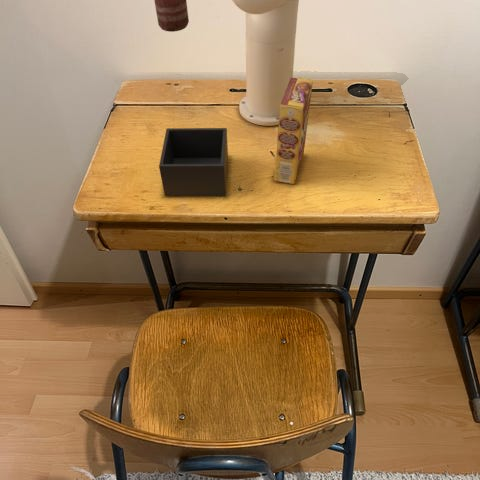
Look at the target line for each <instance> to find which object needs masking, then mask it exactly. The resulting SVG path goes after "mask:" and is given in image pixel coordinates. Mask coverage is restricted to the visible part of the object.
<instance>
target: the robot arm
mask: <svg viewBox="0 0 480 480" xmlns="http://www.w3.org/2000/svg"><path fill="white" fill-rule="evenodd" d="M231 1H232V2H233V4H234V5H235V6H236V7H237V8H238V9H240V10H241V11H243V12H245V88H246V89H245V90H246V91H245V93H246V94H245V96H243V97H242V99H241V100H240V102H239V109H238V110H239V114H240V116H241V117H242V118H243V119H245V121H247V122H249V123H252V124H254V125H258V126H266V127H272V126H279V114H280V103H281V101H282V99H283V96H284V94H285V91H286V89H287V86H288V83H289V80H290V78H294V64H295V53H296V36H297V27H298V26H297V24H298V11H299V3H300V0H231ZM296 78H302V77H301V76H297V77H296Z"/></svg>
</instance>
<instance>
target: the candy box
mask: <svg viewBox="0 0 480 480" xmlns="http://www.w3.org/2000/svg"><path fill="white" fill-rule="evenodd" d="M313 84H314V80H313V79H310V78H303V77H301V78H297V77H293V78H290V80H289V83H288V86H287V89H286V91H285V94H284V96H283V99H282V101H281V103H280V114H279V125H277V126H278V127H277V140H276V150H275V153H276V154H275V165H274V166H275V167H274V178H273V181H274V182H280V183H283V184H289V185H295V184H296V180H297V176H298V173H299V170H300V167H301V164H302V161H303V158H304V155H305V154H304V153H305V148H306V147H305V146H306V139H307V132H308V131H307V130H308V123H309V116H310V109H311V101H312V100H311V99H312V92H313V86H314V85H313Z"/></svg>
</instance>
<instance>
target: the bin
mask: <svg viewBox="0 0 480 480" xmlns="http://www.w3.org/2000/svg"><path fill="white" fill-rule="evenodd" d="M228 167H229V147H228V127H175V128H174V127H173V128H171V127H169V128H166V129H165V133H164V138H163V145H162V150H161V154H160V159H159V164H158V168H159V174H160V178H161V183H162V188H163V193H164V197H226V196H227V184H228V183H227V182H228V171H229V168H228Z"/></svg>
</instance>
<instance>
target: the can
mask: <svg viewBox="0 0 480 480" xmlns="http://www.w3.org/2000/svg"><path fill="white" fill-rule="evenodd" d="M153 1H154V7H155V12H156V18H157V25H158V27H159V28H160V29H161V30H162V31H164V32H169V33H170V32H171V33H173V32H179V31H183V30H185V29H186V28H187V27H188V25H189V22H190V21H189V11H188V2H187V0H153Z"/></svg>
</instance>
